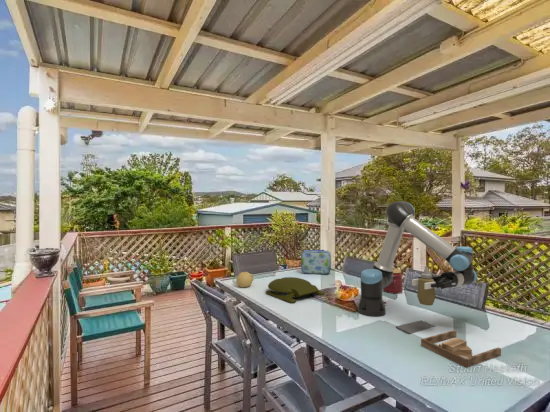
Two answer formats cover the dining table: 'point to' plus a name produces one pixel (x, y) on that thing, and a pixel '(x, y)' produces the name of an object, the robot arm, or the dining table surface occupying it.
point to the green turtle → (292, 288)
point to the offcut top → (454, 344)
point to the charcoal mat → (414, 327)
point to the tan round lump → (244, 279)
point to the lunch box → (316, 262)
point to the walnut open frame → (454, 357)
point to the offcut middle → (462, 350)
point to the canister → (395, 282)
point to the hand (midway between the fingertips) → (418, 284)
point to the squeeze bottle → (425, 294)
